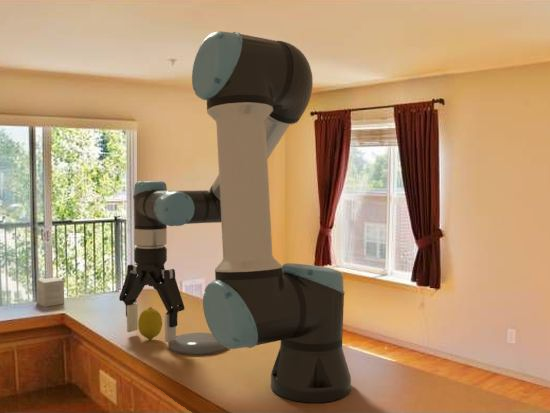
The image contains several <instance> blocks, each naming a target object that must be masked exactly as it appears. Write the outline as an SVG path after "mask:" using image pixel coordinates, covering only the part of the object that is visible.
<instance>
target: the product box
mask: <svg viewBox="0 0 550 413" xmlns="http://www.w3.org/2000/svg"><path fill="white" fill-rule="evenodd" d="M36 303H37V304H38V305H40V306H42V307H43V308H44V307H45V308H46V307H51V306H58V305H63V304H65V280H64V279H61V278H58V277H49V278H40V279H38V278H37V279H36Z"/></svg>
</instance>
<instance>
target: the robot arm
mask: <svg viewBox="0 0 550 413" xmlns="http://www.w3.org/2000/svg"><path fill="white" fill-rule="evenodd" d="M313 84H314V83H313V73H312V69H311V65H310V63H309V61H308V59H307V57H306V56H305V55H304V53H303V52H302V50H300V49H299V48H297V46H295V45H293V44H291V43H290V42H286V41H282V40H273V39H269V38H263V37H259V36H254V35H253V36H252V35H249V34H244V33H243V34H242V33H240V32H236V31H233V32H228V31H222V30H221V31H220V30H219V31H215V32H212V33H210V34H209V35H208V36H207V37H205V39H204V40H203V41H202V43H201V44H200V46H199V48H198V51H197V52H196V55H195V57H194V60H193V65H192V74H191V85H192V89H193V91H194V94H195V95H196V96H197V98H199V99H200V100H203V101H206V113H207V114H208V116H209V117H210V118H211V119H212V120H214V121H215V123H216V138H217V139H216V140H217V141H216V142H217V159H218V162H217V163H218V164H217V165H218V175H217V176H216V178H215V180H214V182H213V183H212V184H211V186H210V188H209V189H208V190H207V189H205V190H168V189H167V188H168V187H167V183H166V182H165V181H161V180H160V181H159V180H154V181H153V180H147V181H145V180H142V181H141V180H139V181H136V182H135V183H134V186H133V187H134V189H133V190H134V191H133V196H132V197H133V198H132V199H133V213H134V214H133V217H134V218H133V223H134V224H133V226H134V227H133V245H134V246H135V248H134V249H133V253H134V255H133V256H134V259H133V260H134V263H132V264H128V265H127V267H126V268H127V269H126V270H127V271H126V275H125V278H124V282H123V285H122V288H121V291H120V294H119V298H118V299H119V301H120V302H123V304H124V305H125V317H126V332H127V333H131V332H135V331H139V327H138V322H139V318H138V313H139V312H138V301H137V300H138V297H139V296H140V294H141V293H142V291H143V290H144V288H145V286H149V287H153V289H154V290H156V292H157V294H158V296H159V298H160V299H161V302H162V304H163V305H164V307H165V309H166V312H165V313H164V343H165V342H166V343H168V342H169V341H172V340H175V339H176V336H177V335H176V334H177V330H176V329H177V328H176V327H178V313H179V312H181V311H185V305H184V301H183V299H182V298H183V297H182V294H181V292H180V289H179V286H178V282H177V280H176V270H175V269H174V268H171V269H166V268H165V263H166V262H167V259H168V256H167V254H168V250H167V249H168V248H167V247H166V246H165V245H167V240H168V238H167V233H168V232H167V228H168V227H167V226H169V227H181V226H184V225H192V224H211V223H213V224H215V223H221V224H220V225H221V238H222V239H221V240H222V242H221V243H222V260H221V262H220V263H219V264H218V265H217V266H216V267H215V269H214V273H215V274H214V276H215V278H214V279H215V280H212V281H211V282H210V283H208V284H207V286H206V287H205V288H204V293H203V295H202V307H203V308H202V309H203V313H204V314H203V315H204V318H205V322H206V324H207V327H208V329H209V331H210V333H212V334H213V336H214V337H215V339H216V340H217V341H218V342H219V343H220V344H221V345H223V346H225V347H227V349H229V350H230V349H231V350H235V349H244V348H247V349H248V348H249V349H251V348H253V347H256V346H260V345H264V344H269V343H270V344H271V343H273V342H278V341H279V342H280V345H279V350H278V352H277V355H276V359H275V361H274V363H273V364H274V365H273V366H272V370H271V372H270V388H271V391H273V392H274V393H275V394H276V395H278V396H279V397H283V398H284V399H287V400H292V401H294V402H295V401H296V402H300V403H301V402H302V403H326V402H327V403H328V402H333V401H337V400H340V399H342V398H343V399H344V398H345V397H346V396H348V395H349V394H350V392H351V391H352V390H351V389H352V386H351V385H352V376H351V373H350V369H349V366H348V363H347V361H346V356H345V353H344V349H343V336H344V335H343V332H344V331H343V329H344V307H345V306H344V303H345V299H344V298H345V294H346V292H345V291H344V277H343V274H342V273H341V272H340V271H339V270H337V269H335V268H330V267H327V266H320V265H313V264H303V263H283V265H282V264H281V263H280V262H279V261H278V260H277V259H276V258H275V257H274V256H273V244H272V243H273V241H272V238H273V237H272V225H271V224H272V222H271V221H272V220H271V219H272V218H271V202H270V185H269V184H270V183H269V182H270V181H269V168H268V167H269V165H268V163H269V162H268V159H269V158H270V157H271V154H272V153H273V151H274V150H275V148H276V147H277V145H278V144H279V142H280V141H281V139H282V137H283V136H284V134H285V133H286V132H287V130H288V128H289V127H290V126H291V125H295V124H297V123H298V122H299V121H300V119H301V118H302V117H303V115H304V113H305V111H306V109H307V107H308V105H309V103H310V100H311V97H312V92H313V86H314V85H313Z"/></svg>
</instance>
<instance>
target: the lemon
mask: <svg viewBox="0 0 550 413" xmlns="http://www.w3.org/2000/svg"><path fill="white" fill-rule="evenodd" d="M162 327H163V320H162V315H161V313H160V312H159V311H158V310H157V309H156V308H153V307H152V306H149V307H148V308H146V309H144V310H143V311H142V312H141V313H140V315H139V318H138V331H139V334H141V336H143V337H144V338H146V339H148V341H151V340H153V339H154V338H155V337H157V336H158V335H159V334H160V333H161V331H162Z"/></svg>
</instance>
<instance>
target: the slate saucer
mask: <svg viewBox="0 0 550 413" xmlns="http://www.w3.org/2000/svg"><path fill="white" fill-rule="evenodd" d="M167 343H168V344H167V345H168V349H169V351H171V352H173V353H175V352H176V353H175V354H179V355H185V356H207V355H208V356H209V355H213V354H218V353H220V352H224V351H226V350H227V349H228V348H227V347H225V346H223V345H221V344H220V343H219V342H218V341H217V340H216V339H215V337H214V336H213V334H212V332H189V333H183V334H178V335H176V339H175V340H172V341H169V342H167Z"/></svg>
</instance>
